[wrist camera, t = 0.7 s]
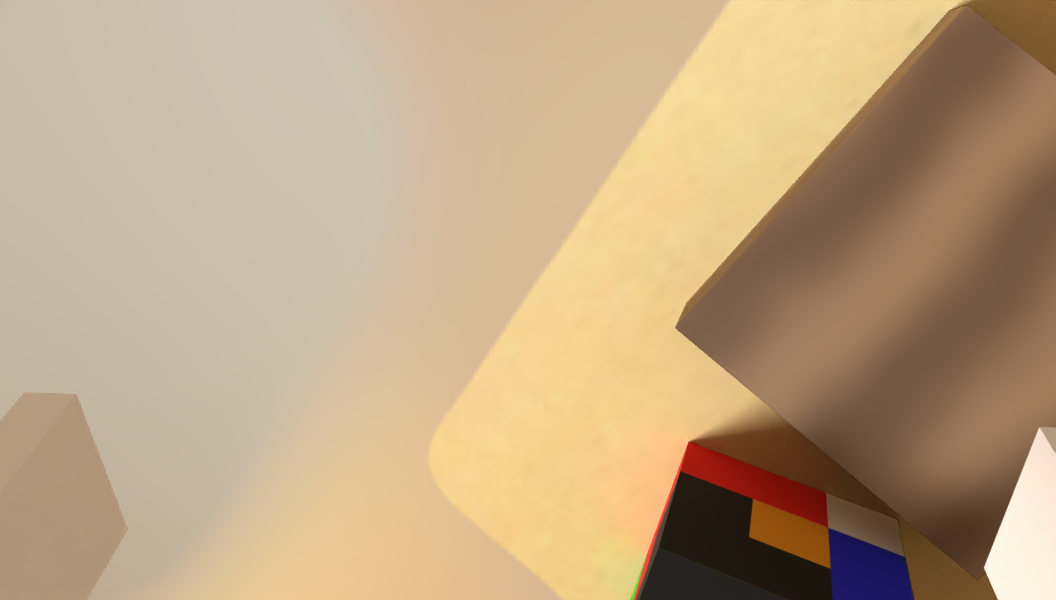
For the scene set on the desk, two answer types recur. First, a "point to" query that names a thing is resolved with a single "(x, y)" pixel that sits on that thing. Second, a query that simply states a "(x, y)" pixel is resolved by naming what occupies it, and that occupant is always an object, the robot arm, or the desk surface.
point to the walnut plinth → (912, 288)
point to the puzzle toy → (767, 540)
